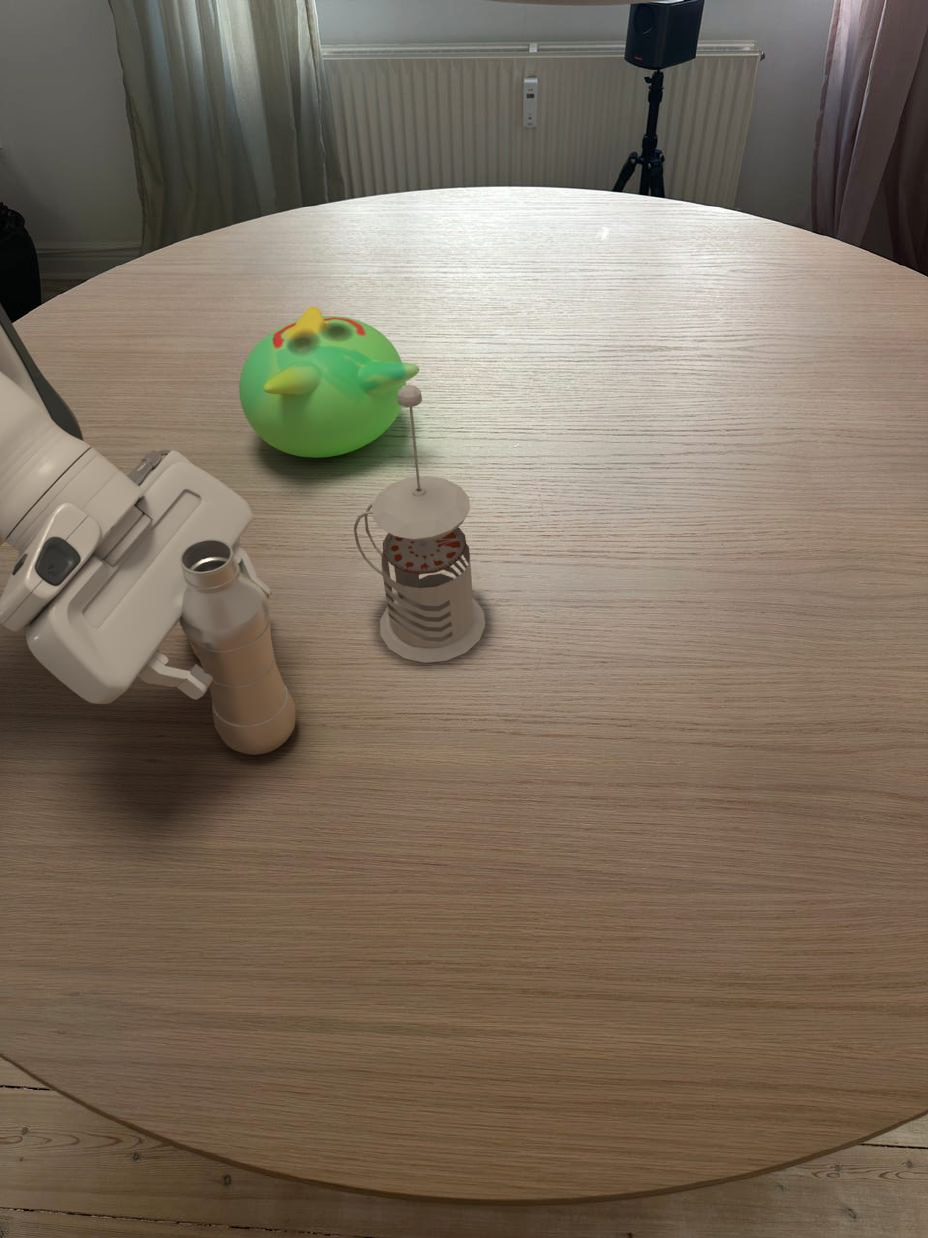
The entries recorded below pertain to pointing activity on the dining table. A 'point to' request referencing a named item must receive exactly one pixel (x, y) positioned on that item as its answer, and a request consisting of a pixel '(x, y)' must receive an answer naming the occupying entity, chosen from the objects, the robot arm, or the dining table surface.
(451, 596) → the french press
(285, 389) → the toy bird
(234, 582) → the plastic bottle
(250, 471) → the dining table surface
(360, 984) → the dining table surface
